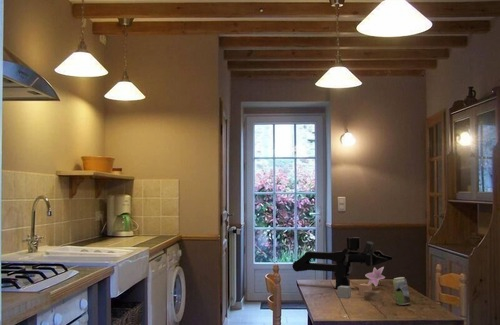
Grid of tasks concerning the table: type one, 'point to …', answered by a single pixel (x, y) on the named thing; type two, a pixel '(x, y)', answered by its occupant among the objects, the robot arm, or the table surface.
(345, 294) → the slate-grey block
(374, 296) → the walnut block
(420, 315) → the table surface
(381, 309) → the table surface
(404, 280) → the beverage can
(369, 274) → the lily
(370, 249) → the robot arm
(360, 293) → the terracotta block
